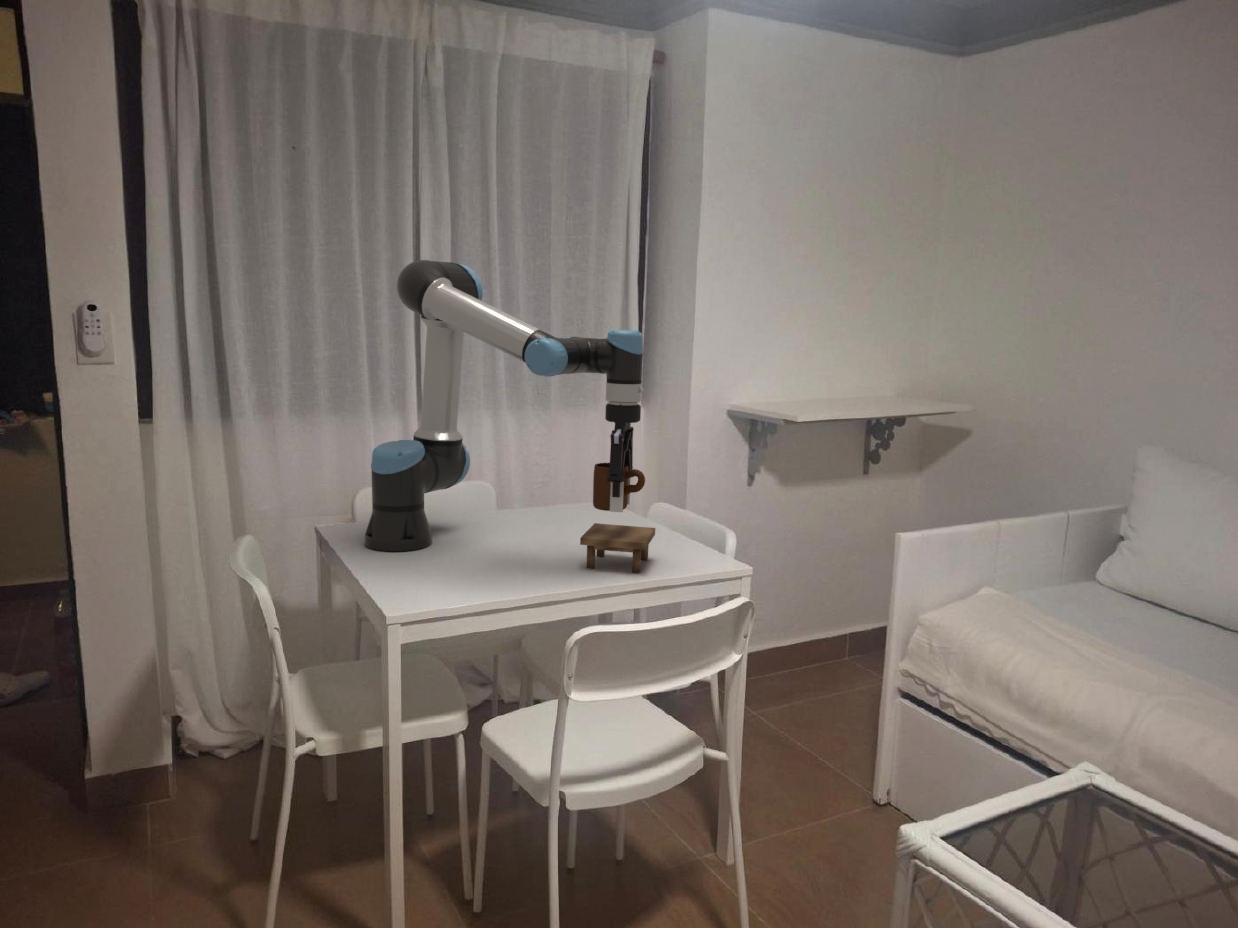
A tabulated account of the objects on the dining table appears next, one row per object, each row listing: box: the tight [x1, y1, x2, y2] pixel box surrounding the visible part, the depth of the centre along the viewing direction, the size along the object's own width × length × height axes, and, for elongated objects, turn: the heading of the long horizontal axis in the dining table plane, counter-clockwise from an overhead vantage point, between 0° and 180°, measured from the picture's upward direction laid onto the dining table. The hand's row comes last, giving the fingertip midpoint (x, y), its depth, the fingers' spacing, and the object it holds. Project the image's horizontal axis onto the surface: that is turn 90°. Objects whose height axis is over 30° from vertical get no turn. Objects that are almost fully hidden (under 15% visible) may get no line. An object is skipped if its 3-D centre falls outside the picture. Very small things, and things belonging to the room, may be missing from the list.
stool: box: [579, 522, 656, 574], centre depth 198 cm, size 14×14×7 cm
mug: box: [592, 462, 646, 512], centre depth 195 cm, size 12×8×9 cm, turn 62°
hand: (619, 507), depth 197 cm, fingers closed on mug, 7 cm apart
